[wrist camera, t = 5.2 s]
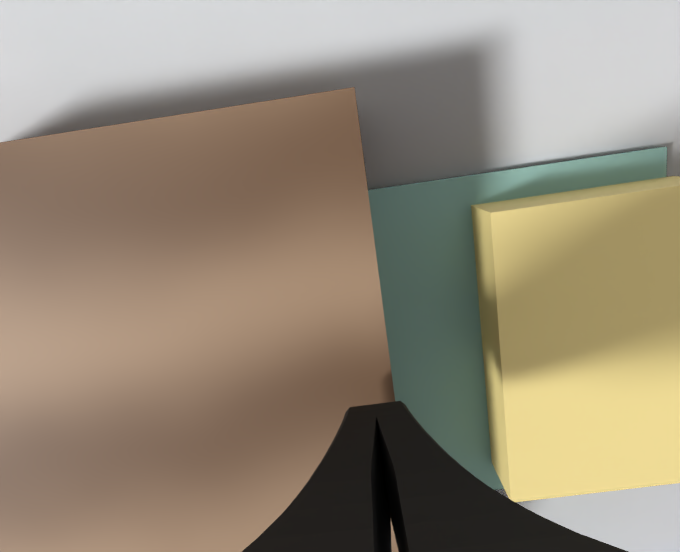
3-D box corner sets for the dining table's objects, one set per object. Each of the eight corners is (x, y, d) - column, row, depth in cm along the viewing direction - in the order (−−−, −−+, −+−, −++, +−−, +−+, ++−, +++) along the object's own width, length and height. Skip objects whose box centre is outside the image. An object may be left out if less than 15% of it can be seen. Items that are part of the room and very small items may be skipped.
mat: (655, 464, 17) (660, 470, 17) (403, 494, 17) (404, 500, 17) (660, 146, 14) (666, 147, 14) (362, 190, 15) (363, 191, 14)
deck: (410, 551, 18) (429, 660, 14) (101, 586, 19) (36, 700, 15) (351, 105, 14) (354, 87, 10) (-37, 166, 15) (-173, 169, 11)
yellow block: (511, 502, 15) (491, 462, 17) (710, 479, 14) (667, 441, 16) (490, 212, 13) (470, 205, 15) (724, 178, 12) (672, 176, 14)
